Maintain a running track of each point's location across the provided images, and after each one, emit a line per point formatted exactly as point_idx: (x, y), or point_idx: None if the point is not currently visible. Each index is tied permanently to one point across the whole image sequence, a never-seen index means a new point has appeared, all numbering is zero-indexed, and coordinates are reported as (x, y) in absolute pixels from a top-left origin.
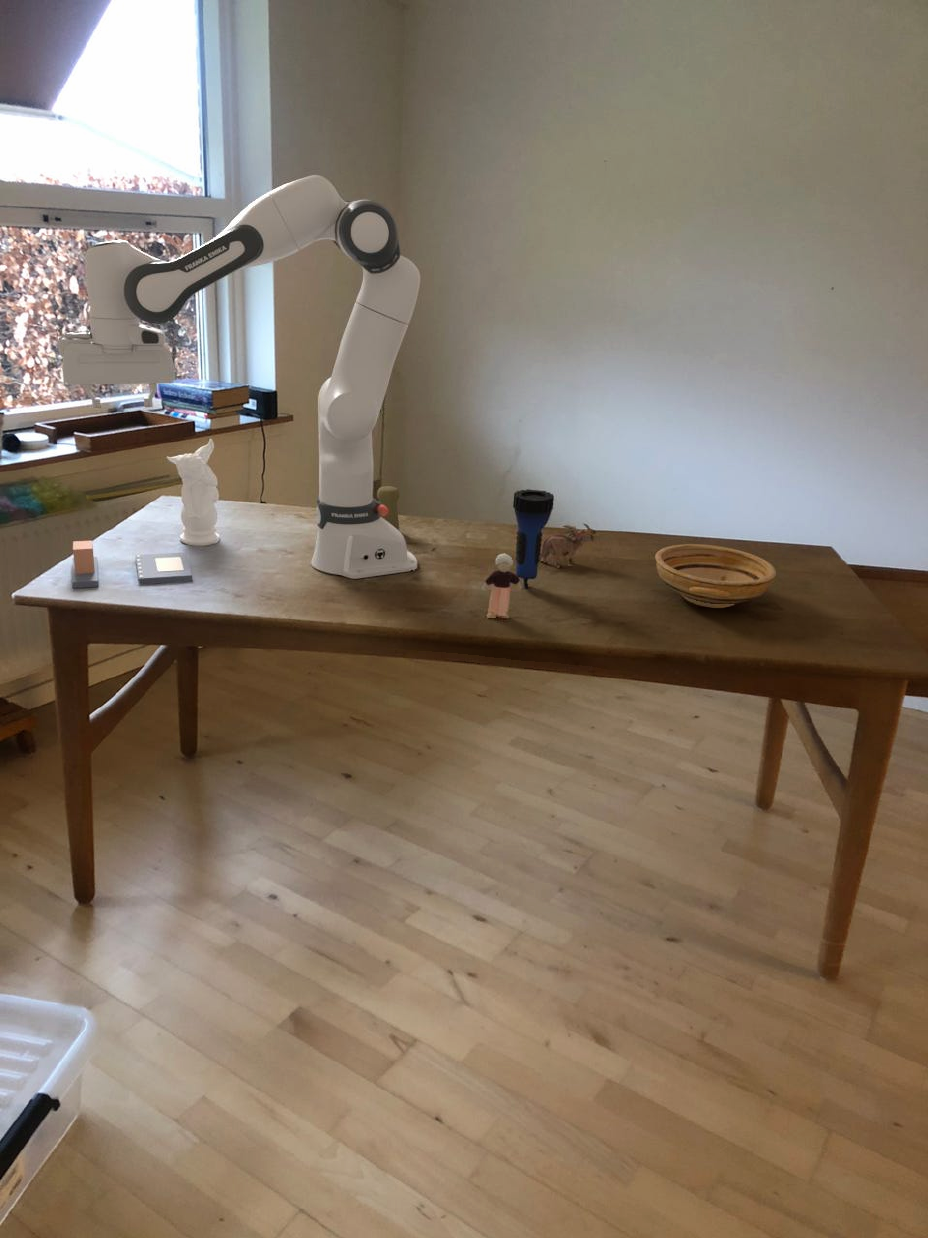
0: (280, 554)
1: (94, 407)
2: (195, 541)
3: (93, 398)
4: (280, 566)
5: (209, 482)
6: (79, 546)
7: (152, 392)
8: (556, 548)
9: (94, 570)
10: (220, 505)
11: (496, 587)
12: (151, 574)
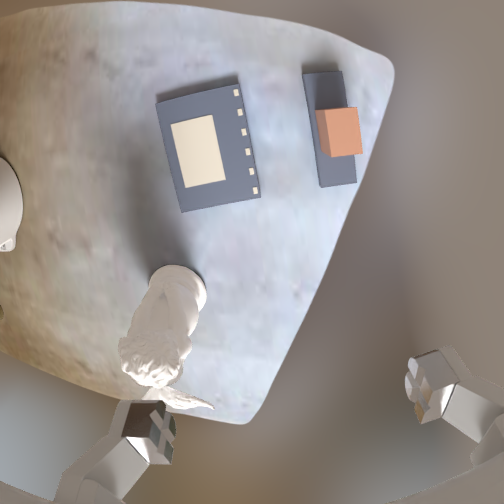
0: (60, 230)
1: (442, 348)
2: (177, 268)
3: (467, 381)
4: (51, 180)
5: (127, 338)
6: (348, 123)
7: (92, 462)
8: None
9: (316, 116)
10: None
11: None
12: (220, 102)
